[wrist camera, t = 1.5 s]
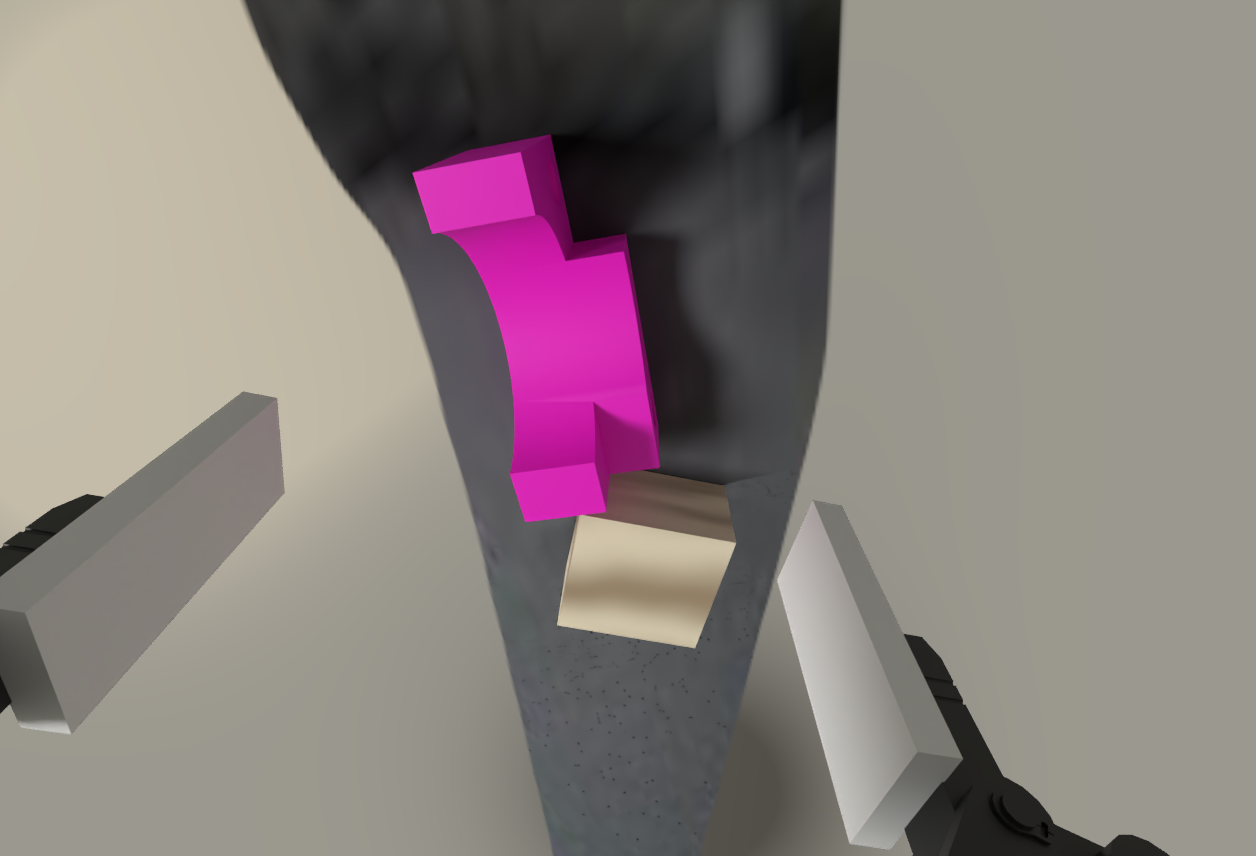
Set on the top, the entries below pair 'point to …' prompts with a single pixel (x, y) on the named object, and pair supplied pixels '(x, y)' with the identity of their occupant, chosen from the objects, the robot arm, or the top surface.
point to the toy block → (552, 324)
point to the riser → (649, 559)
